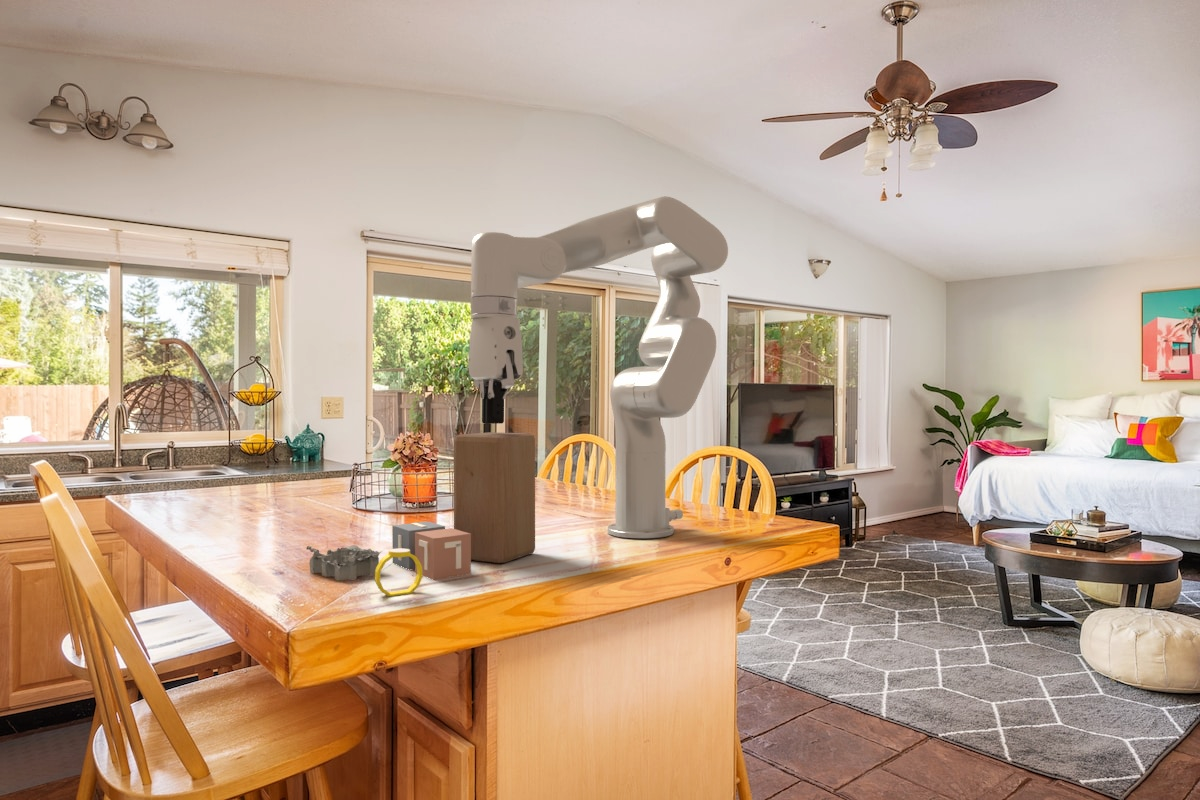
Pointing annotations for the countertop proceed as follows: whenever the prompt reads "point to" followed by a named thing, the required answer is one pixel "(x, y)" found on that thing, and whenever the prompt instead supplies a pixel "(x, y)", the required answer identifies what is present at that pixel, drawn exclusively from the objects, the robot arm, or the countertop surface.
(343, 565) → the egg carton
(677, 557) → the countertop surface
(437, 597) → the countertop surface
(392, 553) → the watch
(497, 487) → the wooden block
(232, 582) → the countertop surface
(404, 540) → the slate cube one
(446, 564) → the terracotta cube seven
